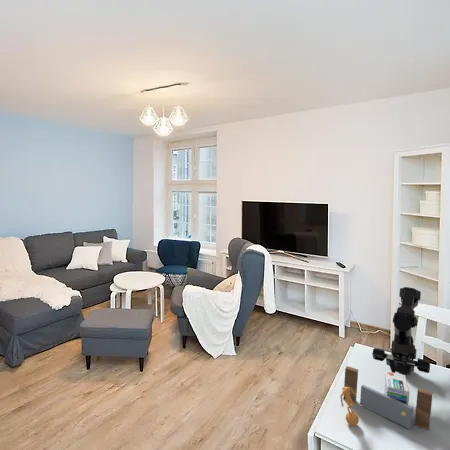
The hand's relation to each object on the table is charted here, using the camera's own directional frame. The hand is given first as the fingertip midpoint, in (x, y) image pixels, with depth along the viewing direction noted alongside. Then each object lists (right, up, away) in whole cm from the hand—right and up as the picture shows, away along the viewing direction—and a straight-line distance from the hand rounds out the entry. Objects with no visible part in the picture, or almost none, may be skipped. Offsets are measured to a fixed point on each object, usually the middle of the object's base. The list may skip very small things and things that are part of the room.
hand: (398, 383), depth 117 cm
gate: (-9, -7, -8) cm, 14 cm away
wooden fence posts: (-8, -7, -5) cm, 12 cm away
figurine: (-22, -8, -10) cm, 25 cm away
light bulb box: (-3, -7, -4) cm, 9 cm away
